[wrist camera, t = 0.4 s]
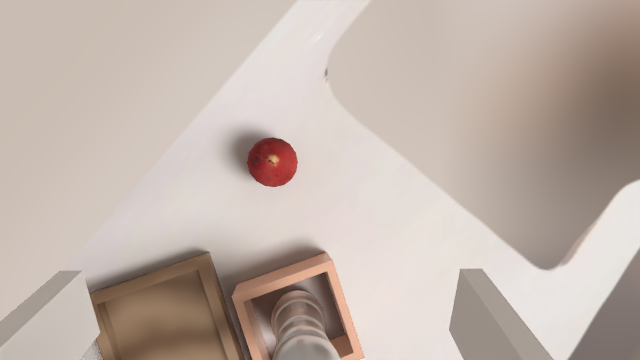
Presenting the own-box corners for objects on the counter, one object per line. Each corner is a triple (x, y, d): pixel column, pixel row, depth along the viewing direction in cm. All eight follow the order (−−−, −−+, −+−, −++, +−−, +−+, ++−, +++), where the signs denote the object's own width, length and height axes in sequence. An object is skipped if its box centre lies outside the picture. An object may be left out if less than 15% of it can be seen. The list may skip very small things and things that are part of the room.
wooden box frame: (354, 338, 44) (364, 357, 39) (267, 373, 42) (265, 398, 37) (326, 252, 44) (332, 260, 39) (237, 284, 42) (231, 296, 37)
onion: (246, 182, 43) (239, 181, 35) (254, 138, 43) (249, 127, 35) (291, 190, 43) (294, 190, 35) (299, 146, 44) (303, 137, 36)
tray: (254, 387, 42) (252, 399, 39) (142, 432, 40) (133, 448, 38) (209, 252, 42) (204, 255, 39) (94, 291, 40) (82, 298, 38)
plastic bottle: (311, 278, 43) (339, 352, 23) (329, 326, 43) (371, 442, 23) (264, 296, 42) (251, 389, 23) (282, 346, 43) (284, 483, 23)
